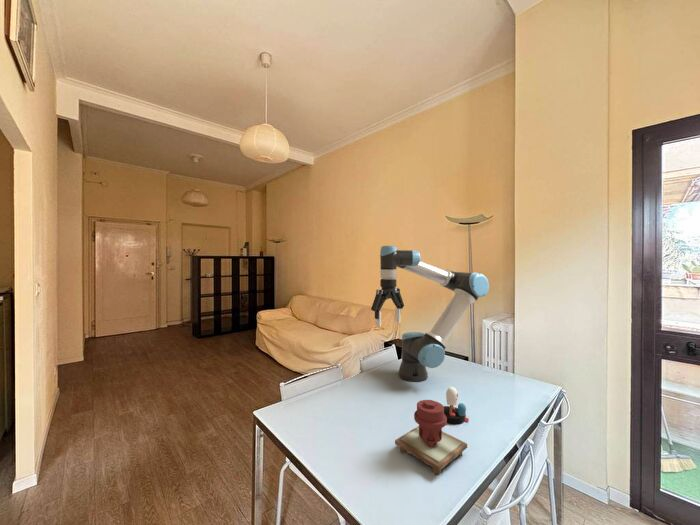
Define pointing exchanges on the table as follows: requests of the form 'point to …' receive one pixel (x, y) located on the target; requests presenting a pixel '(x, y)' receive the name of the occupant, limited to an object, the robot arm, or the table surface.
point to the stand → (431, 449)
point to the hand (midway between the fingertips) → (388, 323)
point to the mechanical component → (430, 421)
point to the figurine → (452, 413)
